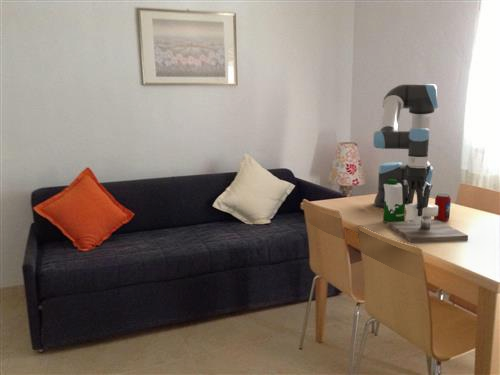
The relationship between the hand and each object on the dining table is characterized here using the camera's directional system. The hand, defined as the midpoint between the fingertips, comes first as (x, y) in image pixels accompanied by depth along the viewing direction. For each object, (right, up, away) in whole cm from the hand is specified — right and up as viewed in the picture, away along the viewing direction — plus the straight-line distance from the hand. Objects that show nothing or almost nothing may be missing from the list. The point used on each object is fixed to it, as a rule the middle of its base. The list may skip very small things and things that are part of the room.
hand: (413, 222), depth 183 cm
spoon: (+4, +3, +2) cm, 5 cm away
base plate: (+7, -5, +7) cm, 11 cm away
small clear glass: (+7, -3, +6) cm, 10 cm away
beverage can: (+23, -1, +27) cm, 36 cm away
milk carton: (-1, -2, +24) cm, 24 cm away
